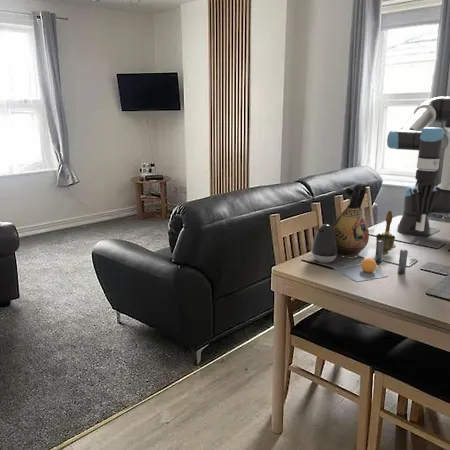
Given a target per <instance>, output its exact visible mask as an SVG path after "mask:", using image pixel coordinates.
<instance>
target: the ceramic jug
mask: <svg viewBox="0 0 450 450" xmlns="http://www.w3.org/2000/svg"><path fill="white" fill-rule="evenodd" d="M366 186H367V185H366V184H364V183H356V184H355V185H354V187H353V189H351V188H350V187H347V188H345V189H344V191H343V192H342V196H343V198H346V200H349V204H348V205H347V206H346V208H345V209H344V210H343V211H342V212H341V213H340V214H339V216H338V217H337V218H336V219H335V221H334V223H333V224H332V228H333V229H334V231H335V234H336V239H337V245H338V254H337V256H338V255H339V256H338V257H343V256H344V257H343V258H348V257H353V258H356V257H355V256H357V257H358V256H359V254H360V253H361V251H363V250H364V249H365V248H366V247H367V245H368V243H369V240H370V239H369V238H370V232H369V225H368V223H367V220H366V219H365V218H364V217H365V216H364V215H363V213H362V209H361V206H362V204H363V201H364V199H365V196H366V190H367V187H366Z"/></svg>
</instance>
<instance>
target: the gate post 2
mask: <svg viewBox="0 0 450 450" xmlns="http://www.w3.org/2000/svg"><path fill="white" fill-rule="evenodd" d="M408 253H409V251H408V250H407V249H400V250H399V260H398V266H397V268H398V269H397V274H398V275H400V276H405V274H406V270H407V269H406V268H407V261H408Z"/></svg>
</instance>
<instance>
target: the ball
mask: <svg viewBox="0 0 450 450" xmlns="http://www.w3.org/2000/svg"><path fill="white" fill-rule="evenodd" d="M360 264H361V268H362V270H363V271H365V272H367V273H371V272H373V271H374V270H376V269H377V264H376V262H375V259H373V258H371V257H366V258H364V259H363V260H361V263H360Z"/></svg>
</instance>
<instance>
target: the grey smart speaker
mask: <svg viewBox="0 0 450 450" xmlns="http://www.w3.org/2000/svg"><path fill="white" fill-rule="evenodd" d="M332 227H333V225H330V224H328V223H324V224H322V225H321V226H320V227H319V228H318V229H317V231H316V234H315V236H314V238H313V242H312V245H311V253H312V257H313V258H314V260H315V261H317V262H319V263H321V262H322V264H329V263H331V262H333V261H335V259H336V257H337V256H338V255H337V254H338V245H337V239H336V234H335V231H334V229H333V228H332Z"/></svg>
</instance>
